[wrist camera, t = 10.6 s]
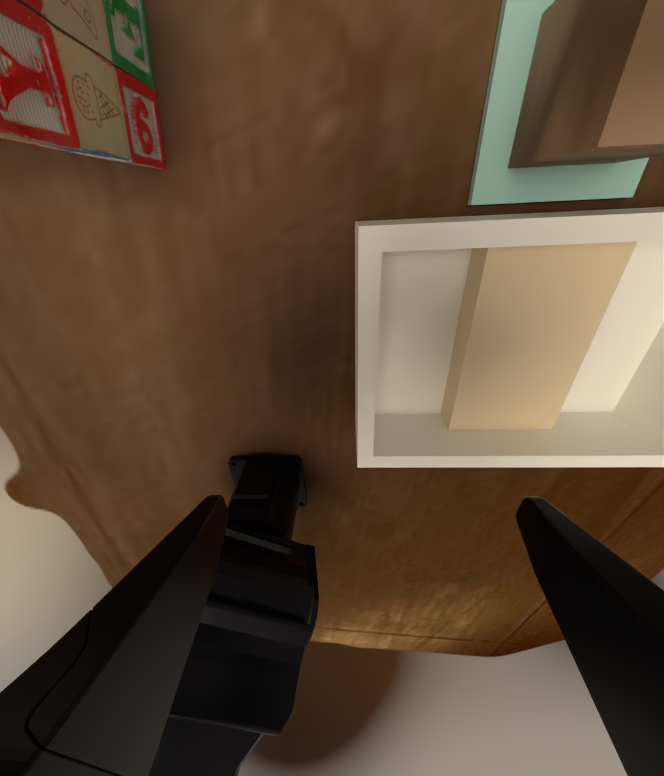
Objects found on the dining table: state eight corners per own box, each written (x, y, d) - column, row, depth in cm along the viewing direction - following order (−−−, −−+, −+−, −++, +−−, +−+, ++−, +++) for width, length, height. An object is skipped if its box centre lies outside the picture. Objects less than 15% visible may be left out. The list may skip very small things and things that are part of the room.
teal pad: (624, 197, 15) (632, 197, 15) (467, 205, 16) (470, 205, 15) (727, -56, 11) (743, -68, 11) (508, -37, 11) (514, -46, 11)
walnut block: (614, 163, 14) (766, 138, 9) (507, 168, 14) (597, 147, 9) (673, 3, 11) (938, -161, 6) (542, 13, 12) (694, -137, 7)
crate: (615, 417, 22) (678, 466, 18) (355, 420, 24) (357, 467, 19) (741, 203, 15) (897, 201, 11) (354, 221, 16) (358, 226, 12)
